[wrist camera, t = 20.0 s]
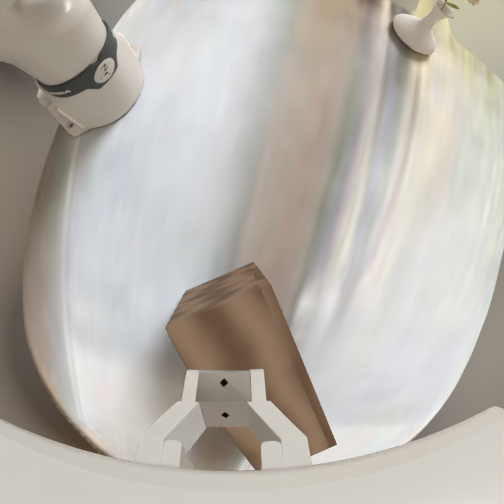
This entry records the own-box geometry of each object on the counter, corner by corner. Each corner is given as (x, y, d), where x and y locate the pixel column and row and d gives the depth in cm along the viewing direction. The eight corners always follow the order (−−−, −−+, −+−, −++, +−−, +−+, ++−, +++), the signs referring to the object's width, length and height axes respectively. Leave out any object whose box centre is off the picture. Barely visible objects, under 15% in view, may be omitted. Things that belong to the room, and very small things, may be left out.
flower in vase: (430, 66, 42) (505, 19, 18) (387, 39, 41) (454, -25, 16) (430, 31, 42) (491, -15, 17) (391, 7, 40) (445, -52, 16)
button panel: (248, 410, 45) (258, 474, 29) (185, 291, 42) (165, 328, 26) (306, 386, 46) (336, 444, 30) (253, 262, 43) (270, 284, 27)
